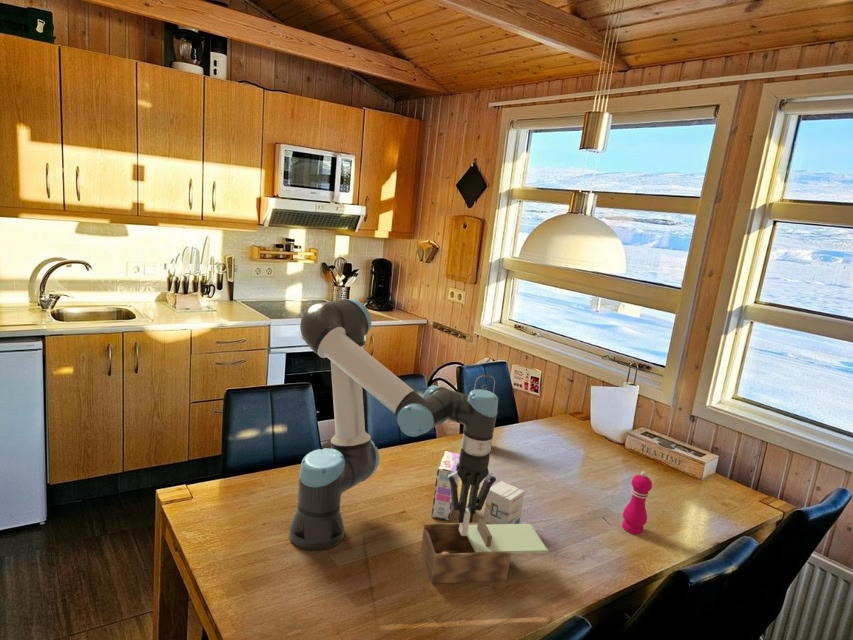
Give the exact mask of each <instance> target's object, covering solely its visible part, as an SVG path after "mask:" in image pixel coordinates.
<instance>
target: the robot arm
mask: <svg viewBox="0 0 853 640" xmlns="http://www.w3.org/2000/svg"><path fill="white" fill-rule="evenodd" d="M299 325H300V327H299V328H300V329H299V330H300V333H301V336H302V339H303V340H304V343H306V345H307V346H308V347H309V348H310V349H311V350H312V352H314V353H315V354H316V355H317V356H319V357H320V358H323V359H325V358H327V359H328V360H329V361H330V368H331V369H330V371H331V385H332V400H333V401H332V402H333V414H334V415H333V416H334V426H335V427H334V429H335V430H334V431H335V433H334V435H333V436H332V437H331V439H330V447H329V448H327V447H325V448H323V449H320V448H318V449H314V450H312V451H310V452H309V453H307V454H306V455H305V456H304V457H303V458H302V460H301V464H300V468H299V473H298V476H299V480H298V493H297V494H298V495H297V508H296V510H295V512H294V515H293V517H292V519H291V522H290V523H289V529H288V538H289V539H290V541H291V542H292V543H293V544H294V545H295V546H297V547H299V548H301V549H303V550H304V549H305V550H307V551H308V550H309V551H310V550H311V551H324V550H328V549H331V548H335V546H337V545H339V544H340V543H341V542H343V540H344V536H345V524H344V520H343V516H342V512H341V501H342V495H343V493H345V492H346V491H348V490H350V489H352V488H353V487H355V486H356V485H358V484H360V483H361V482H364V481H366V480H367V479H369V478H370V477H371V476H372V475H373V474H374V473H375V472H376V471H377V470H378V466H379V464H380V451H379V449H378V447H377V446H375V445H376V444H375V442H374V441H373V440H371V438H372V437H371V435H370V434H369V433H368V432H367V431H366V427H365V412H364V395H363V389H364V390H365V391H366V392H367V393H369V394H370V395H371V396H372V397H374V399H376V400H377V401H378V402H380V404H382V405H383V406H384V407H385V408H386V409H388V410H389V411H390V412H391V413H393V415H395V416H396V417H397V418H396V419H397V422H396V423H397V424H398V427H399V428H400V431H401V432H402V433H403V434H405V435H406V436H408V437H412V438H413V437H419V436H421V435H424V434H426V433H428V432H430V431H431V430H433V428H435V427H437V426H439V425H441V424H444V422H446V421H451V422H453V423H454V422H455V423H457V424H460V425H463V427H464V433H463V434H462V440H461V448H460V453H459V454H460V459H459V465H458V467H457V468H456V471H455V472H453V473H447V477H448V479H449V481H450V487H451V497H452V505H453V510H454V511H456V512H457V517H456V518H457V521H458V522H457V523H460V526H459V531H460V534H461V536H467V532H468V526H469V523H473V519H474V515H475V514H476V511H479V512H481V511H482V509H483V507H484V506H485V503H486V497H487V495H488V493H489V490H490V488H491V487H492V486H493V485H494V483H495V482H496V481H497V478H496V477H495V475H494V474H493V473H491V472H489V471H490V470H489V462H490V457H491V454H490V453H491V450H492V443H493V439H494V438H493V437H494V432H495V428H496V427H495V426H496V421H497V415H498V405H499V397H498V395H496V394H494V393H495V392H494V393H493V392H492V391H490V390H488V389H486V390H481V389H482V388H481V389H479V388H478V389H477V388H475V390H474V389H473V390H471V391H470V392H469V394H465V393H462V392H459V391H456V390H453V389H450V388H447V387H445V386H440V385H434V384H432V385H430V386H429V387H427V389H426V390H425V391H424V393H423V395H421V394H419V393H418V392H417V391H415V390H414V389H413V388H412V387H410V386H409V385H408V384H407V383H405V382H404V381H403V380H402V379H401V378H400V377H398V376H397V375H396V374H394V373H393V371H391V370H390V369H389V368H387V367H385V366H384V365H383V364H382V363H381V362H380V361H378V359H376V358H375V357H374V356H372V355H371V354H370V353H368V352H367V350H365V349H364V348H365V346H366V342H365V341H366V335H367V334H368V333H369V332H370V330H371V328H372V316H371V313H370V312H369V309H368V308H367V306H365V305H364V304H363V302H361V301H360V300H357V299H352V298H348V299H346V298H344V299H343V298H342V299H337V300H331V301H326V302H318V303H315V304H313V305H311V306H309V307H307V309H306V310H305V311H304V312H303V314H302V316H301V318H300V324H299ZM487 390H488V391H487ZM458 476H459V479H460V481H461V488H460V492H458V487H457V484H456V481H457V477H458ZM481 483H482V486H481V487H480V485H481ZM458 493H459V494H460V495H459V494H458Z"/></svg>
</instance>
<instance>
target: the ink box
mask: <svg viewBox="0 0 853 640" xmlns="http://www.w3.org/2000/svg"><path fill="white" fill-rule="evenodd" d="M524 496H525V490H523V489H521V488H519V487H516V486H514V485H513V484H509V483H508V482H505V481H503V480H501V481H499V482H497V483H496V484H493V485H492V486H491V488H490V490H489V493H488V495H487V497H486V500H485V503H484V512H483V518H482V519H483V520H484V522H485V523H491V522H494V524H520V521H521V515H522V507H523V503H524Z"/></svg>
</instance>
